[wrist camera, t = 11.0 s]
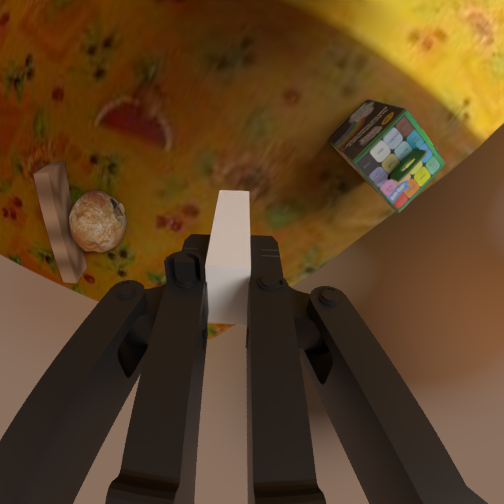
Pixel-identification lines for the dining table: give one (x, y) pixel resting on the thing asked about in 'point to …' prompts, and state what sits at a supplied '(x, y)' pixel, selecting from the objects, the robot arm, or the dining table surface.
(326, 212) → the dining table surface
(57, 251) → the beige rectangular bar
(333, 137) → the chalk box
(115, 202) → the bread roll
